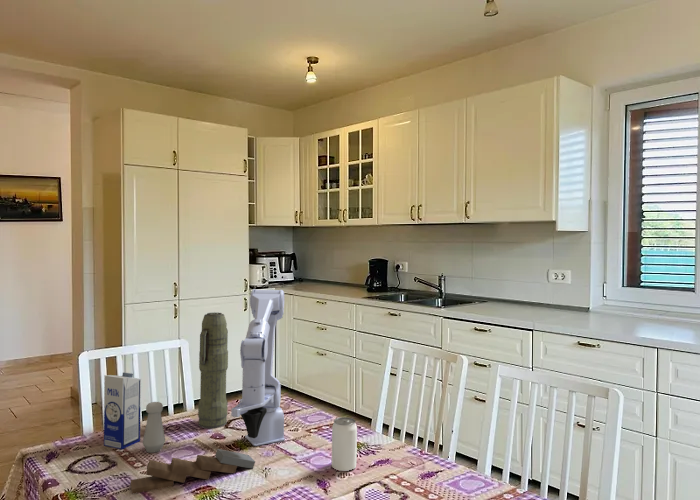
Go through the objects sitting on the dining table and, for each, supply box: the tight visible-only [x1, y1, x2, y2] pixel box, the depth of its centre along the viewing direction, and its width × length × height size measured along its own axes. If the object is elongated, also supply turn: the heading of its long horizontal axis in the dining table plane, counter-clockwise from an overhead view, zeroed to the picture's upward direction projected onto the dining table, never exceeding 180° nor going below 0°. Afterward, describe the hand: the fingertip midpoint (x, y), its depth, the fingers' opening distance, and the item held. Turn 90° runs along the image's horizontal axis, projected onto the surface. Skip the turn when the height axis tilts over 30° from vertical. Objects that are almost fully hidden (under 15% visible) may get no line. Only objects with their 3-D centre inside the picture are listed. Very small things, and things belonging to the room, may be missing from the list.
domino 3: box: [169, 457, 212, 480], centre depth 125 cm, size 2×5×9 cm
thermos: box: [197, 312, 229, 429], centre depth 163 cm, size 9×12×35 cm
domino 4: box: [195, 454, 238, 474], centre depth 128 cm, size 2×5×9 cm
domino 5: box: [214, 448, 256, 469], centre depth 131 cm, size 2×5×9 cm
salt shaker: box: [142, 401, 166, 454], centre depth 141 cm, size 6×6×13 cm
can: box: [331, 416, 358, 472], centre depth 133 cm, size 6×6×12 cm
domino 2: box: [145, 459, 188, 484], centre depth 123 cm, size 2×5×9 cm
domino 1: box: [129, 476, 174, 495], centre depth 121 cm, size 2×5×9 cm
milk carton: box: [103, 372, 142, 450], centre depth 146 cm, size 7×7×20 cm
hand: (252, 436), depth 133 cm, fingers closed
